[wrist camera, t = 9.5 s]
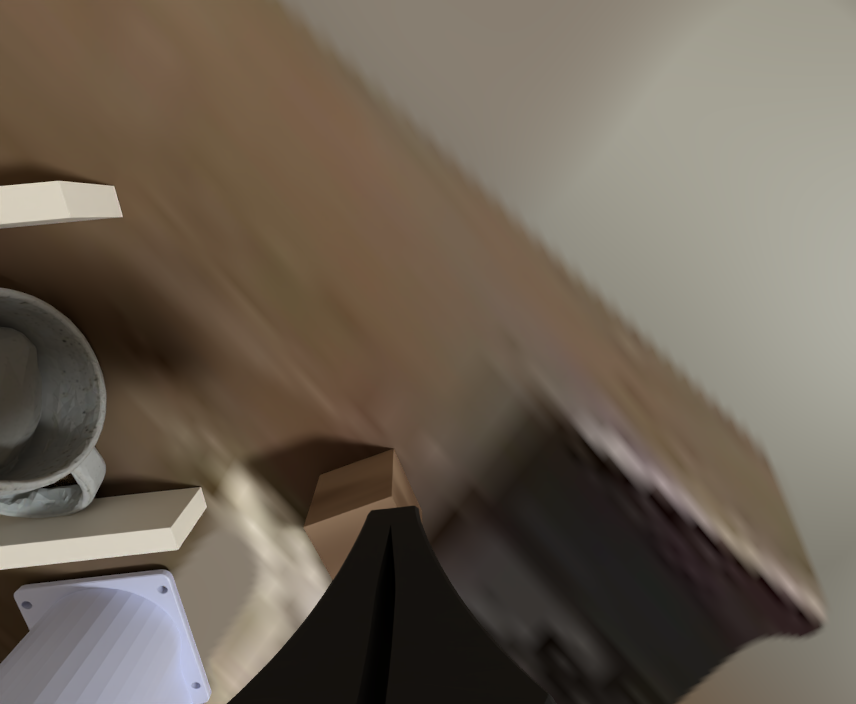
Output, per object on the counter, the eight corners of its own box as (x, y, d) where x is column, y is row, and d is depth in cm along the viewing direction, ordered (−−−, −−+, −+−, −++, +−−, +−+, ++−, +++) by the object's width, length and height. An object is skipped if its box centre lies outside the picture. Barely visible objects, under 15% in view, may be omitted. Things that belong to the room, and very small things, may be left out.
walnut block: (421, 509, 23) (425, 567, 20) (351, 534, 24) (341, 596, 20) (393, 447, 22) (391, 496, 18) (320, 473, 22) (303, 527, 19)
